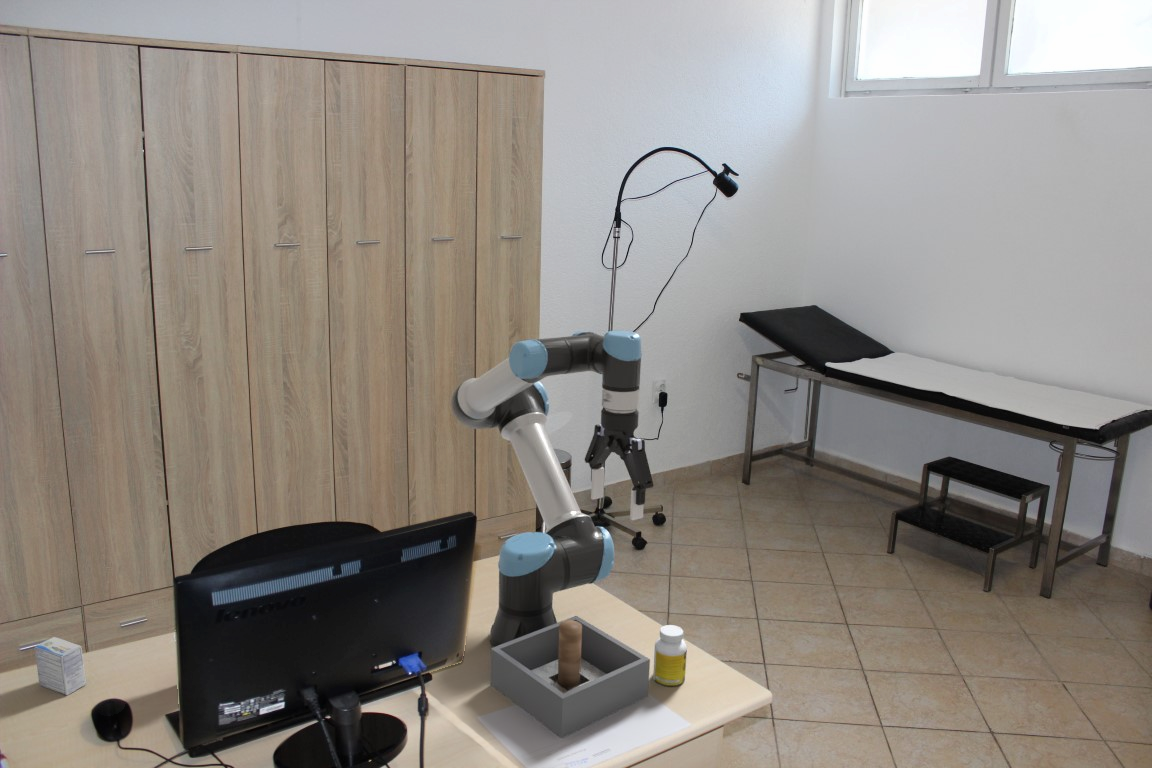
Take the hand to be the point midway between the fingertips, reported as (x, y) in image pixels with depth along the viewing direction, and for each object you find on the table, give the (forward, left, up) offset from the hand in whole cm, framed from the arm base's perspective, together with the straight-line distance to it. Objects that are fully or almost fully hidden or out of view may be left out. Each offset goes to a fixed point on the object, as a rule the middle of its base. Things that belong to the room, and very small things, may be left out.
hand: (616, 508), depth 192 cm
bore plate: (+7, -17, -32) cm, 37 cm away
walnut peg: (+7, -17, -32) cm, 37 cm away
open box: (+7, -17, -33) cm, 38 cm away
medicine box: (-56, -93, -33) cm, 114 cm away
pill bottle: (+16, +2, -33) cm, 37 cm away
